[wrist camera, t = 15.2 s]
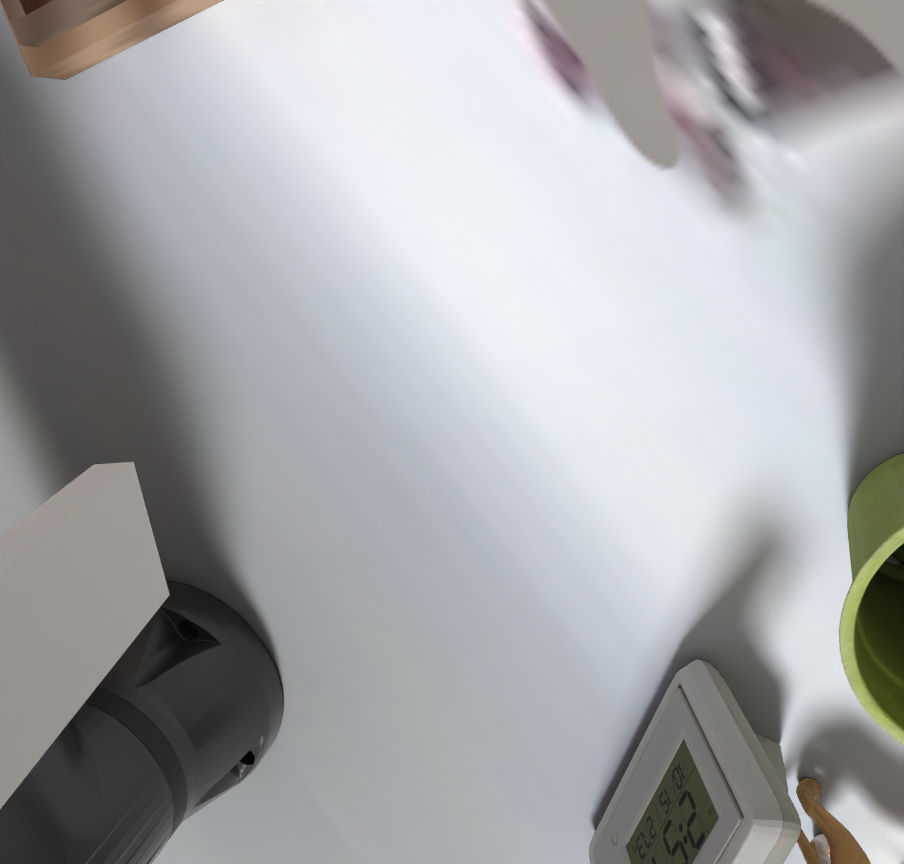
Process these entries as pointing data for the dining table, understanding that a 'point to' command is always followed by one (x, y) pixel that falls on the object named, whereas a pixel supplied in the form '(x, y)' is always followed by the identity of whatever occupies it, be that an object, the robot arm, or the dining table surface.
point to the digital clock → (699, 786)
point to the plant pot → (876, 597)
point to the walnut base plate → (88, 29)
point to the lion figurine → (826, 832)
